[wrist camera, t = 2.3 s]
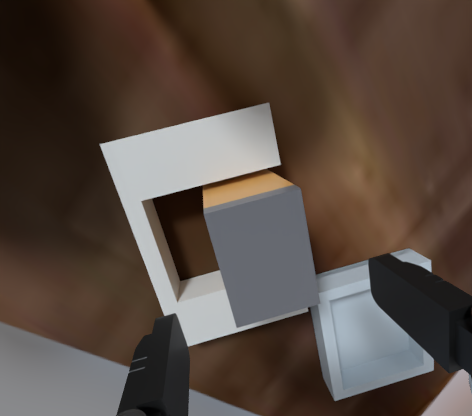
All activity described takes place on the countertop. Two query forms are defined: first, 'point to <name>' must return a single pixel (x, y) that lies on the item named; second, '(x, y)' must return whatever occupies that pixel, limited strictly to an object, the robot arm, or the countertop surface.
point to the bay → (181, 178)
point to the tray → (362, 333)
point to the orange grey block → (261, 245)
